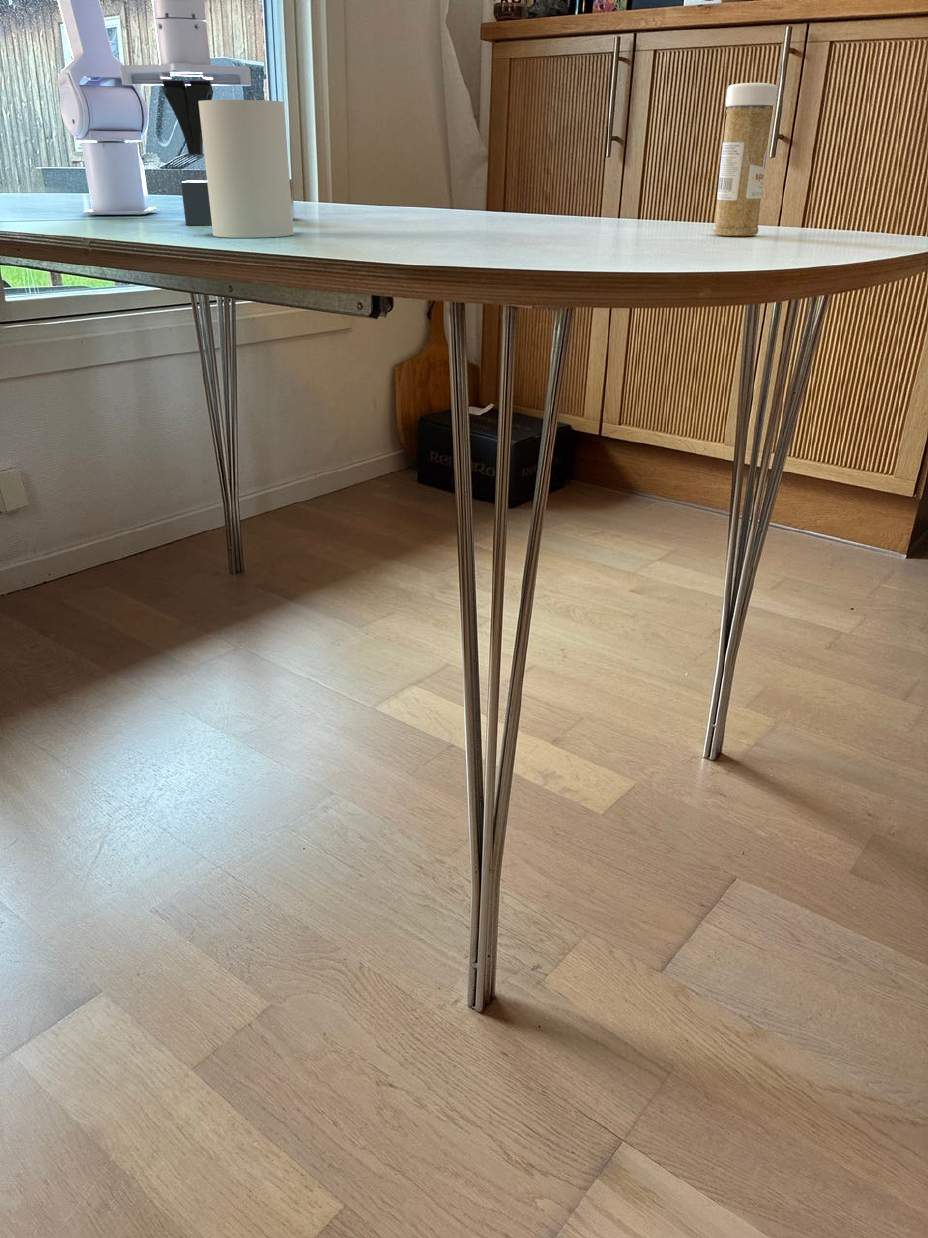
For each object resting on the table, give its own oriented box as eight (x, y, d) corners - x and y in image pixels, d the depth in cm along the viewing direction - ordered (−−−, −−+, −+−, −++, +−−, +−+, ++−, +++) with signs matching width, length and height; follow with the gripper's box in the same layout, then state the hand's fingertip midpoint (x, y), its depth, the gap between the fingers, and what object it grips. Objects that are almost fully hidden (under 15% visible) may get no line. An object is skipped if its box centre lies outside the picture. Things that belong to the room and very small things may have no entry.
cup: (266, 230, 102) (255, 104, 97) (309, 234, 97) (299, 101, 91) (198, 234, 97) (183, 101, 92) (239, 239, 92) (225, 98, 86)
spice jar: (764, 236, 94) (784, 81, 88) (718, 236, 94) (736, 81, 88) (749, 233, 98) (767, 85, 92) (706, 233, 98) (721, 85, 92)
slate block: (192, 222, 114) (187, 180, 112) (230, 222, 114) (226, 180, 112) (185, 225, 110) (180, 181, 107) (226, 224, 110) (221, 181, 108)
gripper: (106, 15, 103) (126, 154, 109) (241, 17, 104) (253, 154, 110) (120, 23, 109) (138, 154, 115) (247, 25, 110) (258, 154, 116)
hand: (195, 154), depth 113 cm, fingers closed
